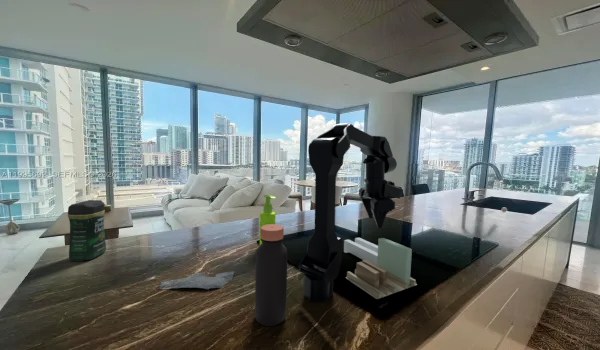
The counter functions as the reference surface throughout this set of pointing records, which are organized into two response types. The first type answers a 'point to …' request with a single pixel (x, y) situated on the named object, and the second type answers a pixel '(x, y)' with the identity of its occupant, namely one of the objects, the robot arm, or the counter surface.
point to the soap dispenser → (267, 213)
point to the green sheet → (394, 259)
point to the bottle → (271, 276)
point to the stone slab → (198, 281)
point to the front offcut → (368, 274)
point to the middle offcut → (383, 273)
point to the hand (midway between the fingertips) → (375, 222)
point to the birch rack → (392, 285)
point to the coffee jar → (86, 230)
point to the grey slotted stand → (362, 249)
